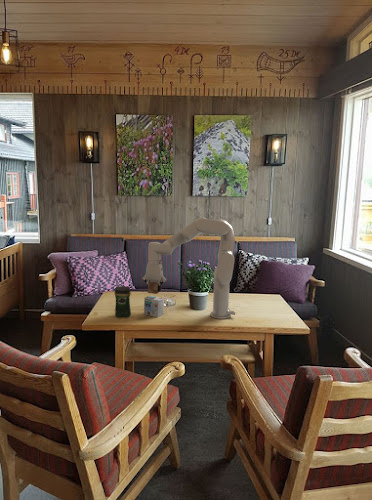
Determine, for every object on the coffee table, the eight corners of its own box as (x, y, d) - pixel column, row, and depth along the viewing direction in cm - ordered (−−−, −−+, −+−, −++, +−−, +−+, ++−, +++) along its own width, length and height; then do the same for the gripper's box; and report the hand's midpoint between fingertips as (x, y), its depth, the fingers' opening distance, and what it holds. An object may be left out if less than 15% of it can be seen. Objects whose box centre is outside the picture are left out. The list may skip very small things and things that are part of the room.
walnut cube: (160, 291, 252) (160, 282, 251) (156, 293, 247) (157, 284, 246) (151, 290, 254) (151, 281, 253) (147, 292, 248) (147, 283, 247)
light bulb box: (143, 314, 252) (143, 297, 250) (149, 311, 258) (149, 295, 256) (158, 317, 247) (158, 300, 246) (164, 314, 253) (164, 297, 251)
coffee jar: (131, 313, 253) (131, 285, 250) (130, 318, 245) (130, 288, 242) (115, 313, 252) (115, 284, 249) (114, 318, 244) (113, 288, 241)
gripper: (169, 262, 249) (169, 290, 252) (143, 260, 253) (143, 288, 256) (165, 264, 241) (165, 293, 244) (138, 262, 246) (138, 291, 249)
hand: (153, 290), depth 250 cm, fingers closed on walnut cube, 6 cm apart
